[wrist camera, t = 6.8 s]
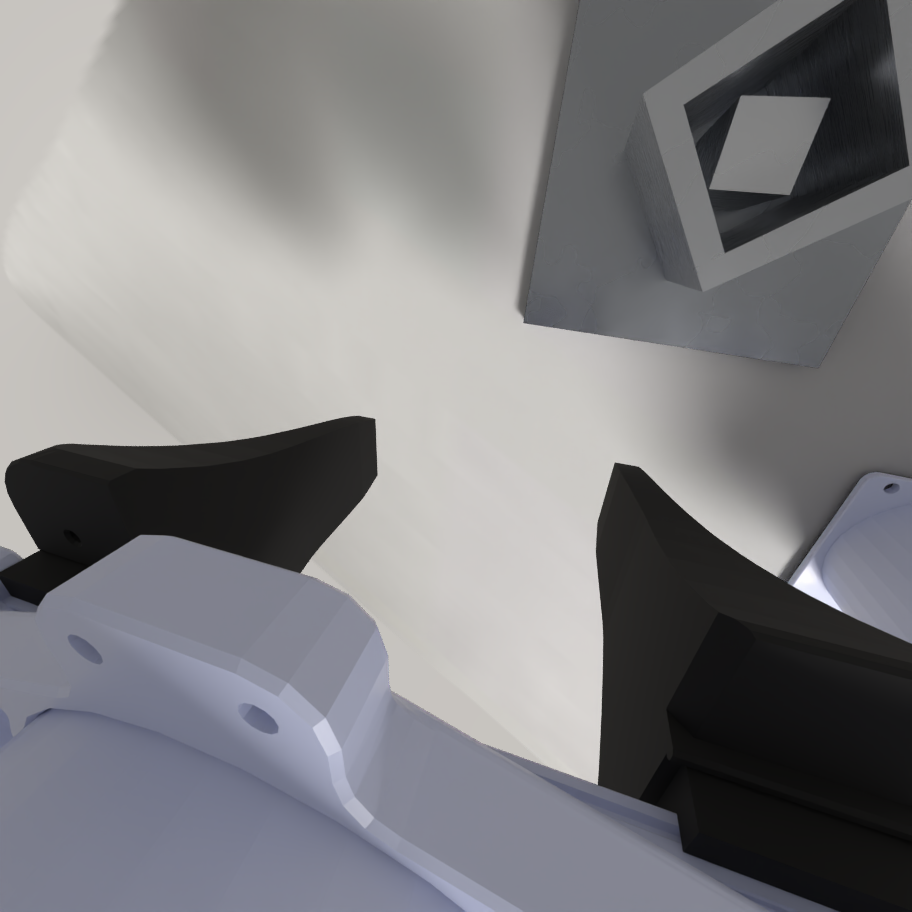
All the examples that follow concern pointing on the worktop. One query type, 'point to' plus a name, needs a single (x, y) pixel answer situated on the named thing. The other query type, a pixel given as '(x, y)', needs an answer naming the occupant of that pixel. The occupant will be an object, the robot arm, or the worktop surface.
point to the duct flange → (729, 188)
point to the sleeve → (830, 155)
